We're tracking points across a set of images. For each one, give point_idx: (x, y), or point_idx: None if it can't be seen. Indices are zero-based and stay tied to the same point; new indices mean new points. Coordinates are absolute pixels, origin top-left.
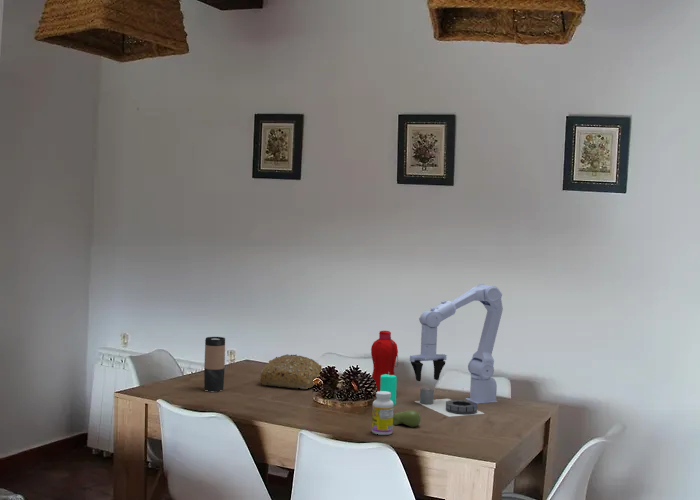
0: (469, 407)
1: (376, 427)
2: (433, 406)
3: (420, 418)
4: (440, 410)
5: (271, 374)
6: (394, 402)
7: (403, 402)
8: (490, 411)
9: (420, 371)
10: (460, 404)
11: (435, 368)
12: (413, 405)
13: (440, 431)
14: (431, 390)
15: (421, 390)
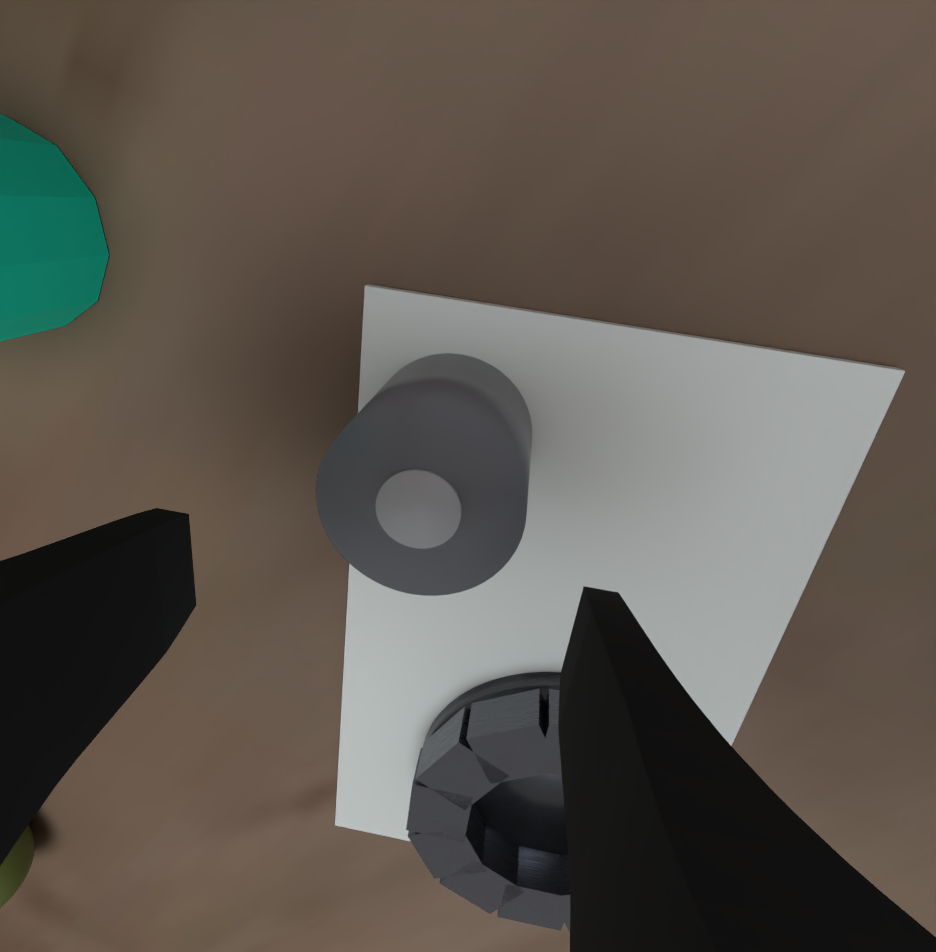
0: (521, 918)
1: None
2: None
3: (6, 901)
4: (390, 697)
5: None
6: (39, 329)
7: (239, 227)
8: None
9: (15, 801)
10: None
11: (616, 829)
12: (281, 407)
13: (127, 932)
14: (446, 575)
15: (318, 493)
